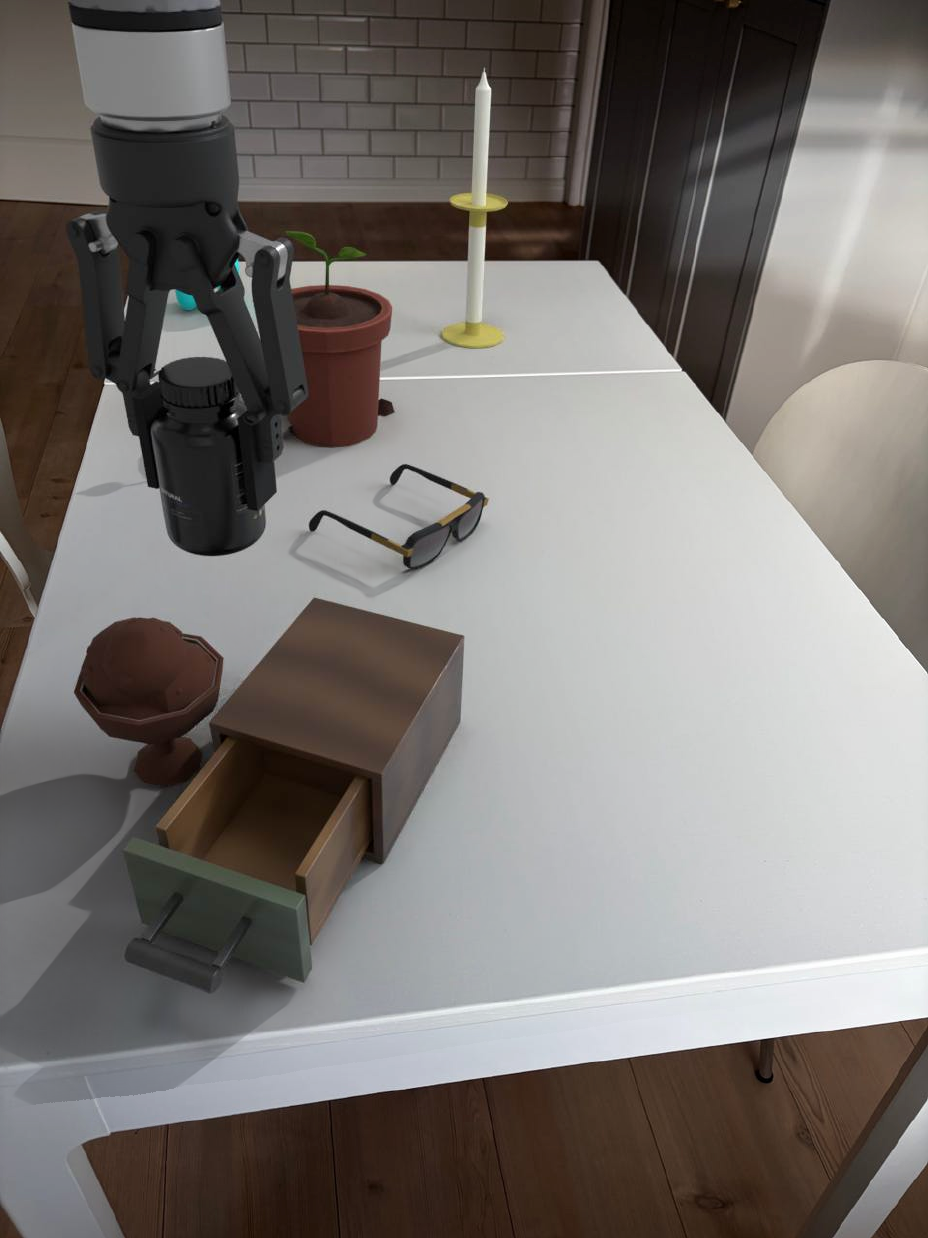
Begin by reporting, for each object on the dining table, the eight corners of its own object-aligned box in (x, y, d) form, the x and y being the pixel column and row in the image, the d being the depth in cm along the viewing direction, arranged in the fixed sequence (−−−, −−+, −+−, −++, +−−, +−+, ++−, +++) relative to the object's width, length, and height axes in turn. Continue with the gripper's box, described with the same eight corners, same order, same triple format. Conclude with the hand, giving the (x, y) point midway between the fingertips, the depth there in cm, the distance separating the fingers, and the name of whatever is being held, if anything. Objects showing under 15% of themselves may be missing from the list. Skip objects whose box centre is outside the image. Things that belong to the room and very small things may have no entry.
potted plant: (254, 456, 123) (233, 250, 107) (266, 382, 140) (249, 196, 125) (397, 454, 124) (396, 251, 109) (392, 382, 141) (390, 198, 126)
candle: (443, 322, 160) (449, 59, 138) (504, 325, 160) (521, 63, 138) (439, 346, 152) (445, 71, 130) (504, 349, 152) (521, 75, 130)
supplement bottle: (150, 551, 67) (118, 385, 60) (193, 501, 72) (169, 343, 65) (245, 566, 66) (225, 399, 59) (282, 515, 71) (268, 355, 64)
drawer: (265, 1054, 61) (253, 981, 56) (94, 987, 64) (69, 913, 59) (397, 815, 76) (397, 742, 72) (255, 771, 79) (245, 698, 75)
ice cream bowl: (263, 746, 83) (245, 602, 74) (168, 834, 75) (135, 685, 66) (169, 700, 87) (141, 558, 78) (69, 778, 79) (25, 631, 70)
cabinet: (383, 864, 74) (381, 774, 68) (223, 812, 77) (208, 722, 71) (460, 721, 86) (464, 635, 80) (319, 682, 90) (313, 596, 84)
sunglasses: (391, 483, 118) (390, 445, 115) (494, 527, 111) (496, 489, 108) (308, 531, 109) (306, 491, 106) (415, 582, 102) (415, 542, 99)
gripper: (359, 121, 54) (369, 491, 67) (50, 86, 58) (119, 439, 72) (296, 149, 48) (321, 548, 62) (-41, 108, 53) (53, 486, 67)
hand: (212, 488), depth 67 cm, fingers closed on supplement bottle, 7 cm apart
